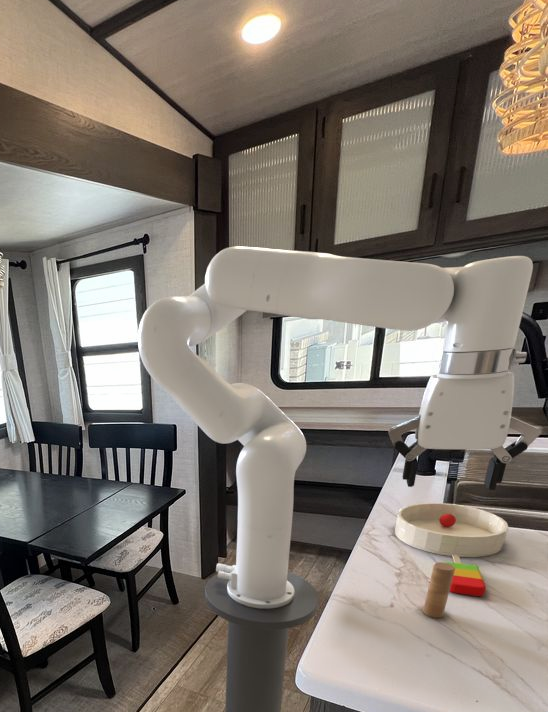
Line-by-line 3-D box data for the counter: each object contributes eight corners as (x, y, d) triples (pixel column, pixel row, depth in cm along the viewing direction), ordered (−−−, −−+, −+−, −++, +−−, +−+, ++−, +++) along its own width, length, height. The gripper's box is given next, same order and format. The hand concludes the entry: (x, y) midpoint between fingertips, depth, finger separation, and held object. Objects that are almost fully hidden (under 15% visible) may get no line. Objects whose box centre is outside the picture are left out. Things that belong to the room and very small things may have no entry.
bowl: (391, 547, 100) (395, 528, 99) (397, 516, 115) (400, 499, 113) (506, 564, 90) (513, 543, 88) (497, 527, 105) (503, 509, 103)
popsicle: (446, 592, 83) (448, 583, 83) (437, 556, 95) (439, 548, 95) (485, 598, 81) (488, 588, 80) (471, 560, 93) (473, 552, 92)
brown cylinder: (422, 615, 78) (433, 568, 74) (423, 607, 80) (433, 560, 76) (443, 619, 77) (455, 571, 73) (443, 611, 79) (455, 564, 75)
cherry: (438, 527, 106) (440, 515, 104) (438, 523, 108) (440, 511, 107) (454, 530, 104) (457, 517, 103) (454, 525, 106) (457, 512, 105)
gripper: (549, 356, 62) (516, 480, 68) (396, 365, 69) (379, 476, 76) (570, 362, 56) (531, 497, 62) (400, 371, 63) (381, 490, 70)
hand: (448, 485), depth 69 cm, fingers open, 9 cm apart
